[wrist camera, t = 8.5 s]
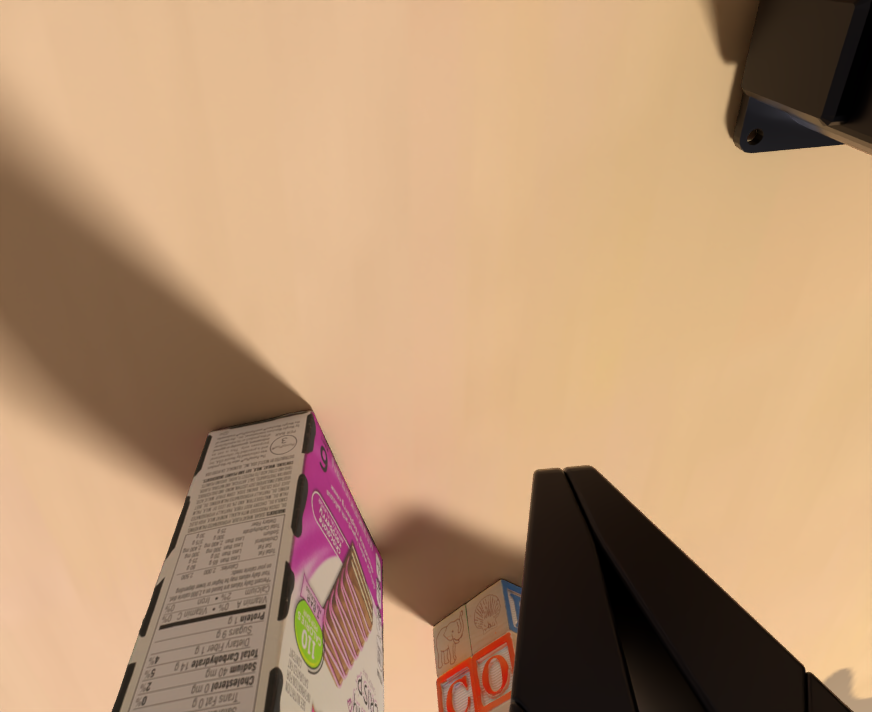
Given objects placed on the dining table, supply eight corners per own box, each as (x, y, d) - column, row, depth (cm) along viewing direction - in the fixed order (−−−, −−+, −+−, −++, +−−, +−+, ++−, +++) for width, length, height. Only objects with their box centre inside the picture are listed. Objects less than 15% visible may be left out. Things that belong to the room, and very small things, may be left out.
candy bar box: (389, 557, 30) (397, 1038, 17) (298, 575, 31) (235, 1062, 17) (318, 400, 24) (239, 980, 10) (204, 426, 24) (-16, 1022, 11)
